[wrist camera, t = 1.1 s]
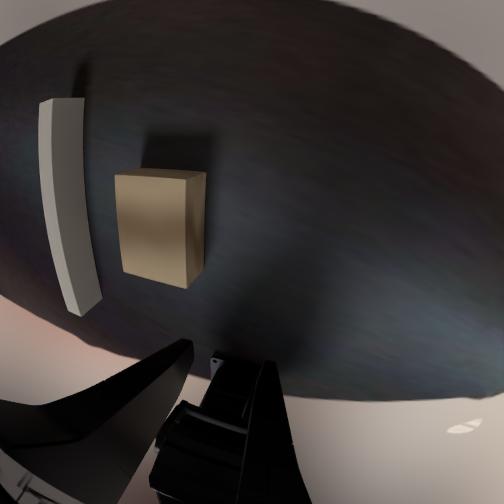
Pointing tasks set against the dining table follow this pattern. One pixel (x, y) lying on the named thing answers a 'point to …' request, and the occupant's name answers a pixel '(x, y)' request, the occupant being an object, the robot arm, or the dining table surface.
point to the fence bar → (67, 201)
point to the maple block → (161, 223)
